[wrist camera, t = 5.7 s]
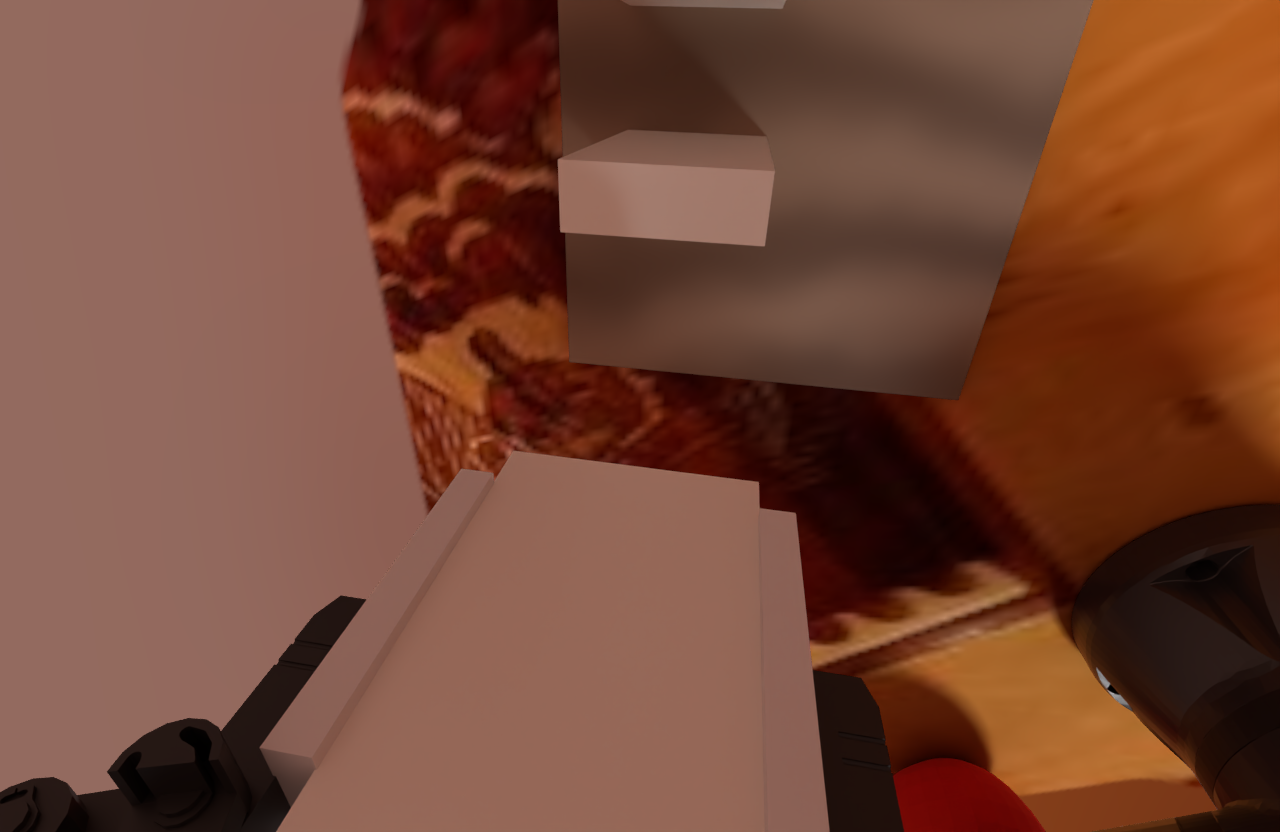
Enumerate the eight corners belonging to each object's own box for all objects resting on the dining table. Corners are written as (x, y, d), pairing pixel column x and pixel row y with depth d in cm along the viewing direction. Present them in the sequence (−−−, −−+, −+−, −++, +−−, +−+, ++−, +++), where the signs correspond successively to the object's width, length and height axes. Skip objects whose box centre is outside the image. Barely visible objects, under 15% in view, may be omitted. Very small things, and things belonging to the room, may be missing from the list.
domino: (760, 185, 26) (764, 246, 17) (627, 178, 27) (560, 232, 18) (766, 136, 25) (774, 171, 16) (628, 129, 26) (557, 159, 17)
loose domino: (747, 546, 15) (744, 1342, 6) (518, 513, 16) (171, 1176, 6) (758, 482, 14) (780, 1323, 5) (513, 450, 15) (91, 1128, 5)
